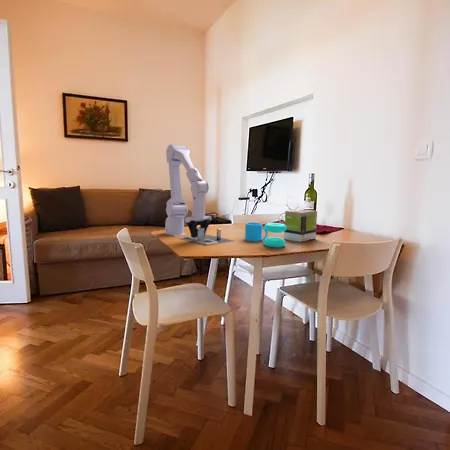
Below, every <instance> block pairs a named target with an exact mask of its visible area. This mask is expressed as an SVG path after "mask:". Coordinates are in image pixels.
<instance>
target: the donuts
mask: <svg viewBox="0 0 450 450" xmlns="http://www.w3.org/2000/svg"><path fill="white" fill-rule="evenodd" d="M263 227H264V228H265V230H266V231H267V232H269V233H273V234H281V233H284V231H286V229H287V227H286V225H285V223H279V222H267V223H265V224H264V226H263ZM263 245H265V246H266V247H269V248H283V247H285V246H286V239H284V238H281V237H277V236H267V238H266V239H265V240H263Z"/></svg>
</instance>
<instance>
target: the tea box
mask: <svg viewBox="0 0 450 450" xmlns="http://www.w3.org/2000/svg"><path fill="white" fill-rule="evenodd" d="M317 221H318V211H317V210H312V209H302V208H300V209H292V210H285V211H284V225H286V227H287V229H286V231H284V232H283V240H287V241H292V242H297V241H298V243H301V242H305V241H310V239H311V240H314V239H315V238H317V225H318V224H317ZM315 240H316V239H315Z"/></svg>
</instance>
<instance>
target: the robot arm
mask: <svg viewBox="0 0 450 450" xmlns="http://www.w3.org/2000/svg"><path fill="white" fill-rule="evenodd" d="M165 155H166V162H167V164H168V172H169V185H170V198H169V199H168V200H167V201H166V208H165V212H166V215H167V217H166V218H165V223H164V224H165V229H164V230H165V232H163V234H164V235H170V236H172V237H178V236H185V235H187V236H188V233H185V232H184V231H185V230H184V229H185V223H186V225H187V227H188V229H189V233H190V236H191V237H193V238H195V237H196V228H197V227H198V222H199V227H201V228H204V236H205V235H206V232H207V229H208V227H209V225H210V224H211V221H212V216H210V215H206V199H207V198H206V194H207V193H208V192H209V188H210V187H209V186H210V185H209V183H208V181H207V180H205V179H203V177H202V175H201V174H200V171H199V170H198V168H197V167H194V165H193V163H192V160H191V158H190V155H191V152H190V149H189V147H188V146H187V145H178V144H177V145H176V144H168V146H167V148H166V150H165ZM181 165H182V166H184V168H185V170H186V173H185V174H186V177H187V179H188V182H189V183H190V192H191V197H192V214H191V215H192V216H188V217H186V216H187V215H188V212H189V207H188V206H187V201H186V200H185V199H184V198H183V196H182V185H181V184H182V183H181V170H180V166H181Z"/></svg>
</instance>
